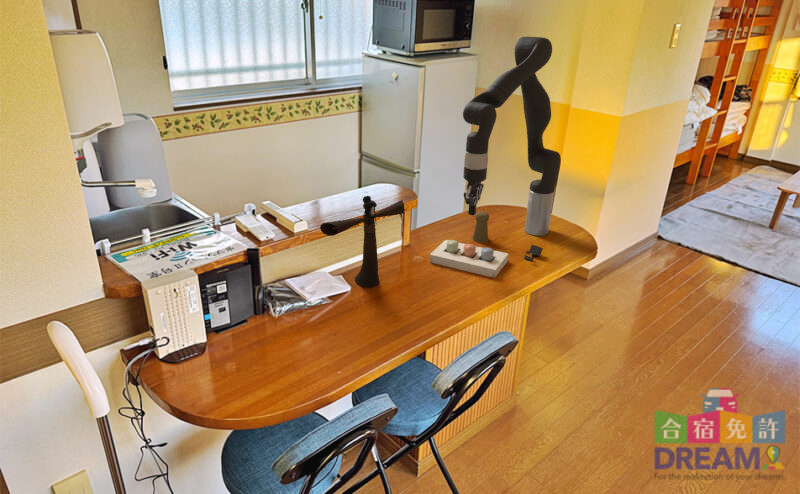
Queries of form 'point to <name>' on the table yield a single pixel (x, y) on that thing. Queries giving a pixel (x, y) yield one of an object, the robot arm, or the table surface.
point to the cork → (481, 227)
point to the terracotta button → (469, 250)
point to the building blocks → (533, 252)
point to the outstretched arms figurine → (365, 237)
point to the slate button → (487, 254)
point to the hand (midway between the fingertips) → (471, 214)
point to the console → (469, 260)
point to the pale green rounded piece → (452, 246)
